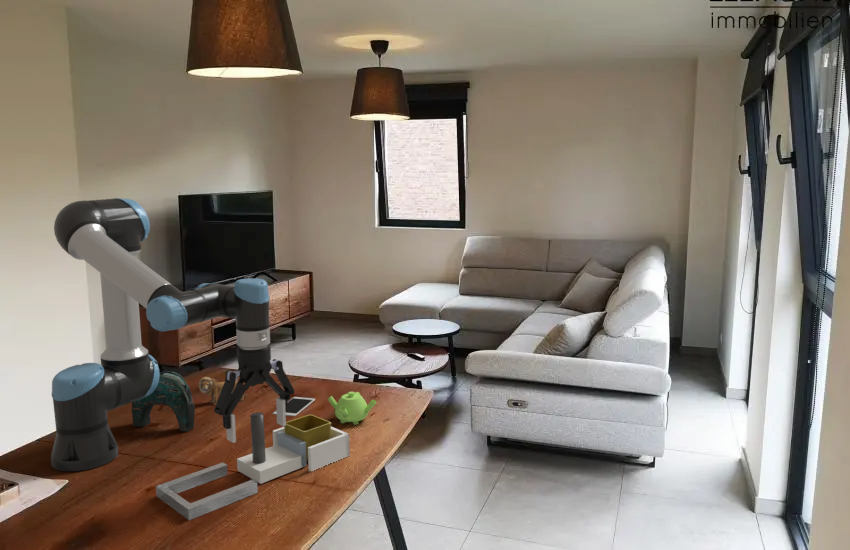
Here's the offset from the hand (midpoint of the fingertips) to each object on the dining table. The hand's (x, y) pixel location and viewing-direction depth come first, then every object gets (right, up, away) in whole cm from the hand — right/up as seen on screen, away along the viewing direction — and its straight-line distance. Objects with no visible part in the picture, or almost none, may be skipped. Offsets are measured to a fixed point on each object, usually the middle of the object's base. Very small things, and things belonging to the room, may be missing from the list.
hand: (257, 432), depth 160 cm
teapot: (+19, -5, +34) cm, 39 cm away
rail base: (-9, -12, -8) cm, 17 cm away
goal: (+10, -9, +12) cm, 18 cm away
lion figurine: (-23, -3, +51) cm, 56 cm away
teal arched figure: (-34, -6, +31) cm, 47 cm away
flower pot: (+10, -9, +11) cm, 18 cm away
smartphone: (0, -3, +47) cm, 47 cm away
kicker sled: (+3, -10, +4) cm, 11 cm away
